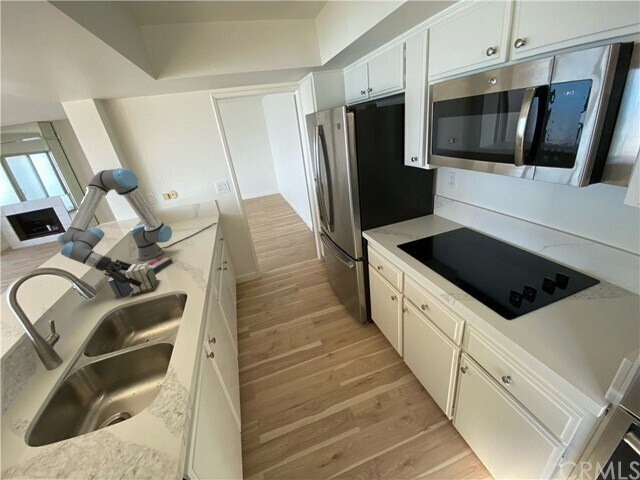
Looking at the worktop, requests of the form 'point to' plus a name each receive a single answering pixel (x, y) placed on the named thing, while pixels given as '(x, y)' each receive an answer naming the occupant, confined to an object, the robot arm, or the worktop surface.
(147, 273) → the bookstand
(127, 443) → the worktop surface
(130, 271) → the white book
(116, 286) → the grey books
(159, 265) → the red and white box
